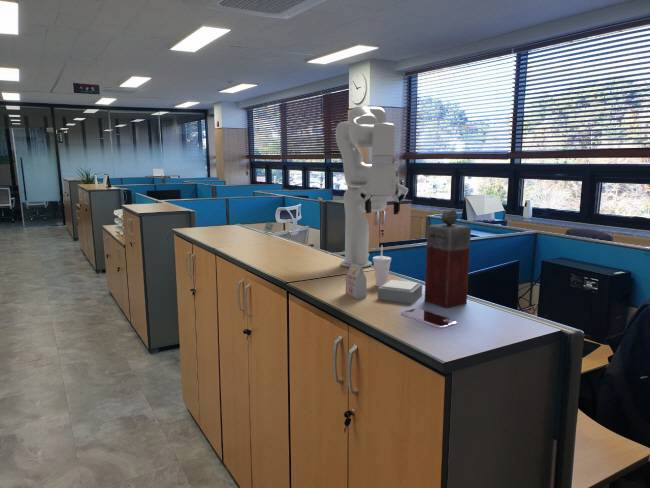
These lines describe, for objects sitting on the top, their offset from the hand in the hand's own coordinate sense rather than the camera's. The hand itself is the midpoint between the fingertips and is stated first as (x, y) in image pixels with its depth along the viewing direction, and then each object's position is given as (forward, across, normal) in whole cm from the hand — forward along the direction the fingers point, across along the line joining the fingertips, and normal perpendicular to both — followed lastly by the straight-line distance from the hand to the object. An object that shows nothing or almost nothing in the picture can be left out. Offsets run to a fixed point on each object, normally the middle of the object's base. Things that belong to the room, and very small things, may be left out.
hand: (382, 213), depth 159 cm
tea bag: (+25, +3, +16) cm, 30 cm away
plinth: (+25, -10, +10) cm, 29 cm away
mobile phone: (+26, -23, +27) cm, 44 cm away
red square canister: (+25, -23, +9) cm, 36 cm away
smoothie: (+25, 0, 0) cm, 25 cm away
